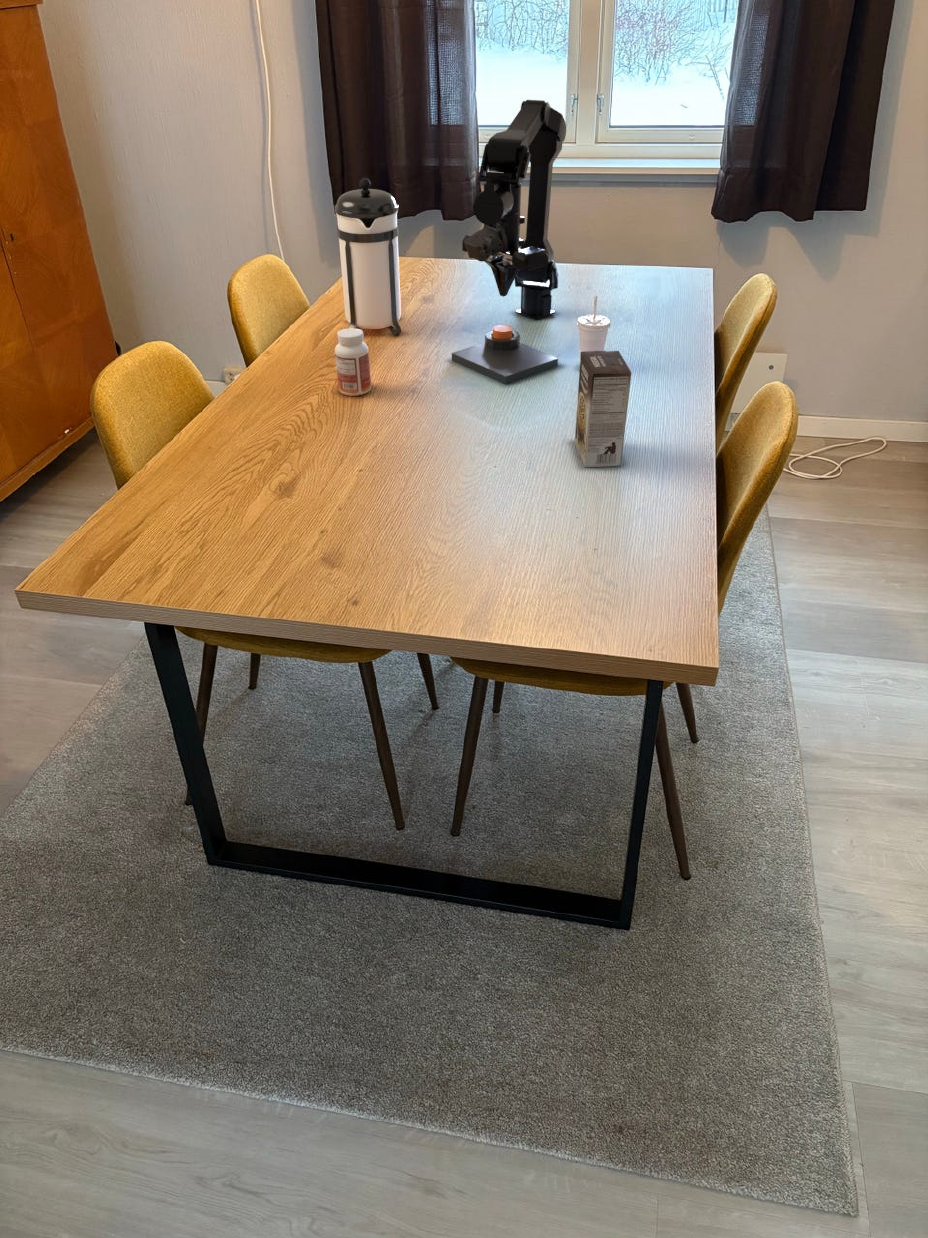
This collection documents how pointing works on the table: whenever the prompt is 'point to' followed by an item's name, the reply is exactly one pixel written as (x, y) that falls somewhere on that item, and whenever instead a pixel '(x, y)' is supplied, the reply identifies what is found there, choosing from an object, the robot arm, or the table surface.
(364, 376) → the pill bottle
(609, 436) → the coffee box
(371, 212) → the coffee press
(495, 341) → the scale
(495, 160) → the robot arm
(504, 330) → the power button
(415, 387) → the table surface
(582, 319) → the smoothie
